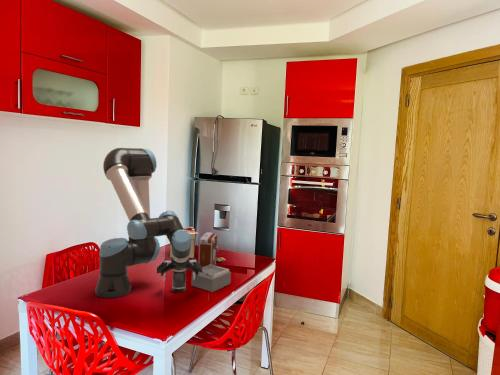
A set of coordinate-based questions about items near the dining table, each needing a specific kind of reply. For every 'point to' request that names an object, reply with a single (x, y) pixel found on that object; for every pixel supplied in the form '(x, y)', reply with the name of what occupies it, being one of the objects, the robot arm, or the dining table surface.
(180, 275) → the lens
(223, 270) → the square picture frame
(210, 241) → the cine camera
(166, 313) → the dining table surface
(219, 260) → the pastry
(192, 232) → the gift box
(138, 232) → the robot arm
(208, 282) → the square shallow tray
